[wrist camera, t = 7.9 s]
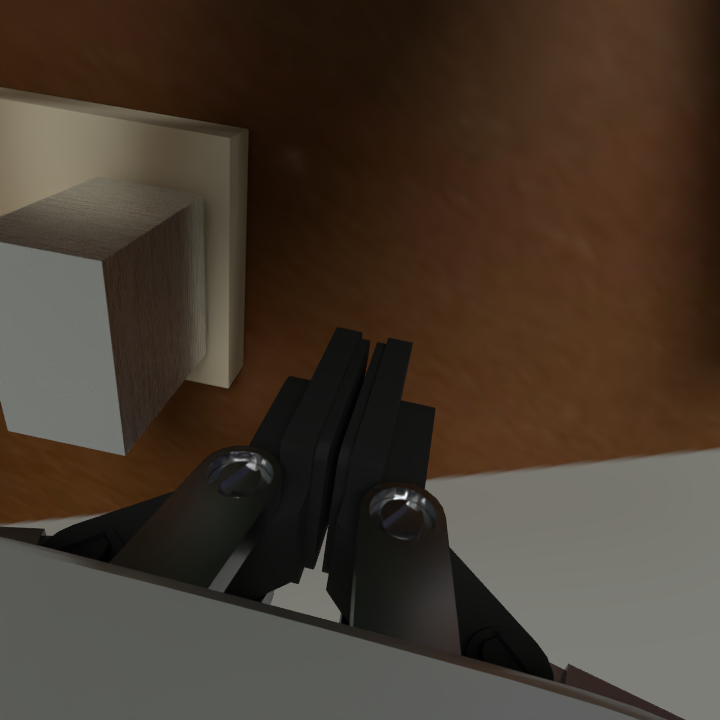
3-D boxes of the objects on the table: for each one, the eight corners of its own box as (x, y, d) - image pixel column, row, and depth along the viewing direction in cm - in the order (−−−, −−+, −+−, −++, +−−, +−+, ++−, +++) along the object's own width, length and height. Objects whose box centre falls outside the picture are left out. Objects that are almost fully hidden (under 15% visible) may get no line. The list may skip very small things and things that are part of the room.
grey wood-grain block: (203, 195, 15) (101, 261, 11) (206, 353, 18) (124, 455, 14) (97, 176, 15) (-43, 233, 11) (116, 335, 18) (8, 430, 14)
